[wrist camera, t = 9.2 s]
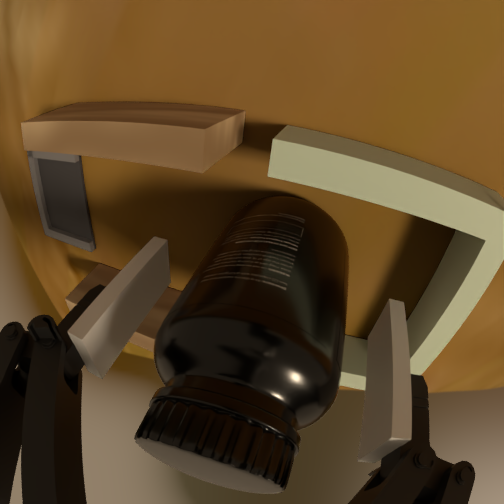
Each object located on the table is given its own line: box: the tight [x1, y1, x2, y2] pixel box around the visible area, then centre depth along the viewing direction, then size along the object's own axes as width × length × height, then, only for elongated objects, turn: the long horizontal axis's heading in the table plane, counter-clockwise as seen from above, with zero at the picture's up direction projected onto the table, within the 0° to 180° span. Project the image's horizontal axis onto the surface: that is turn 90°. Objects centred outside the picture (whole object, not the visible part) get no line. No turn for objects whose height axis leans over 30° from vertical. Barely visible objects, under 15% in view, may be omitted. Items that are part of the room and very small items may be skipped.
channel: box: [21, 102, 246, 352], centre depth 16 cm, size 14×11×4 cm
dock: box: [268, 125, 504, 390], centre depth 15 cm, size 14×11×3 cm
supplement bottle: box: [134, 196, 349, 494], centre depth 12 cm, size 7×7×12 cm
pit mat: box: [27, 150, 96, 252], centre depth 19 cm, size 8×6×1 cm
